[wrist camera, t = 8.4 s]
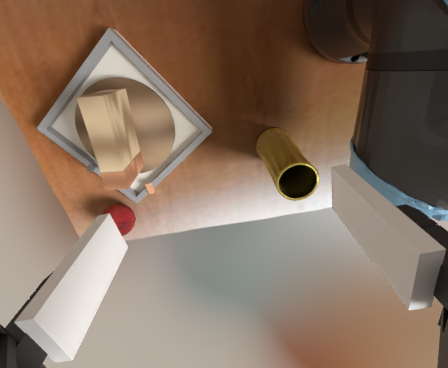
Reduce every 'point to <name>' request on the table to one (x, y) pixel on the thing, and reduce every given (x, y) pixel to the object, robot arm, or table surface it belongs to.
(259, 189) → the table surface
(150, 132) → the dial
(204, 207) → the table surface
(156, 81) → the panel
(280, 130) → the vase
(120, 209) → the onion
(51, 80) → the table surface
